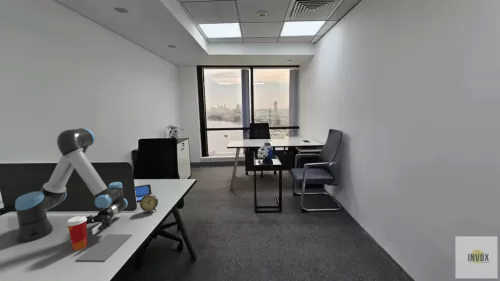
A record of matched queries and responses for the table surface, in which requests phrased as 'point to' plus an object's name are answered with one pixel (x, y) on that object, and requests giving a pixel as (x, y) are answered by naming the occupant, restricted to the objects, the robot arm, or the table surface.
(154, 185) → the table surface
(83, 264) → the table surface
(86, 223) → the robot arm
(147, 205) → the alarm clock
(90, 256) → the mat
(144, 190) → the handheld game console
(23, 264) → the table surface
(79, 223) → the coffee cup
